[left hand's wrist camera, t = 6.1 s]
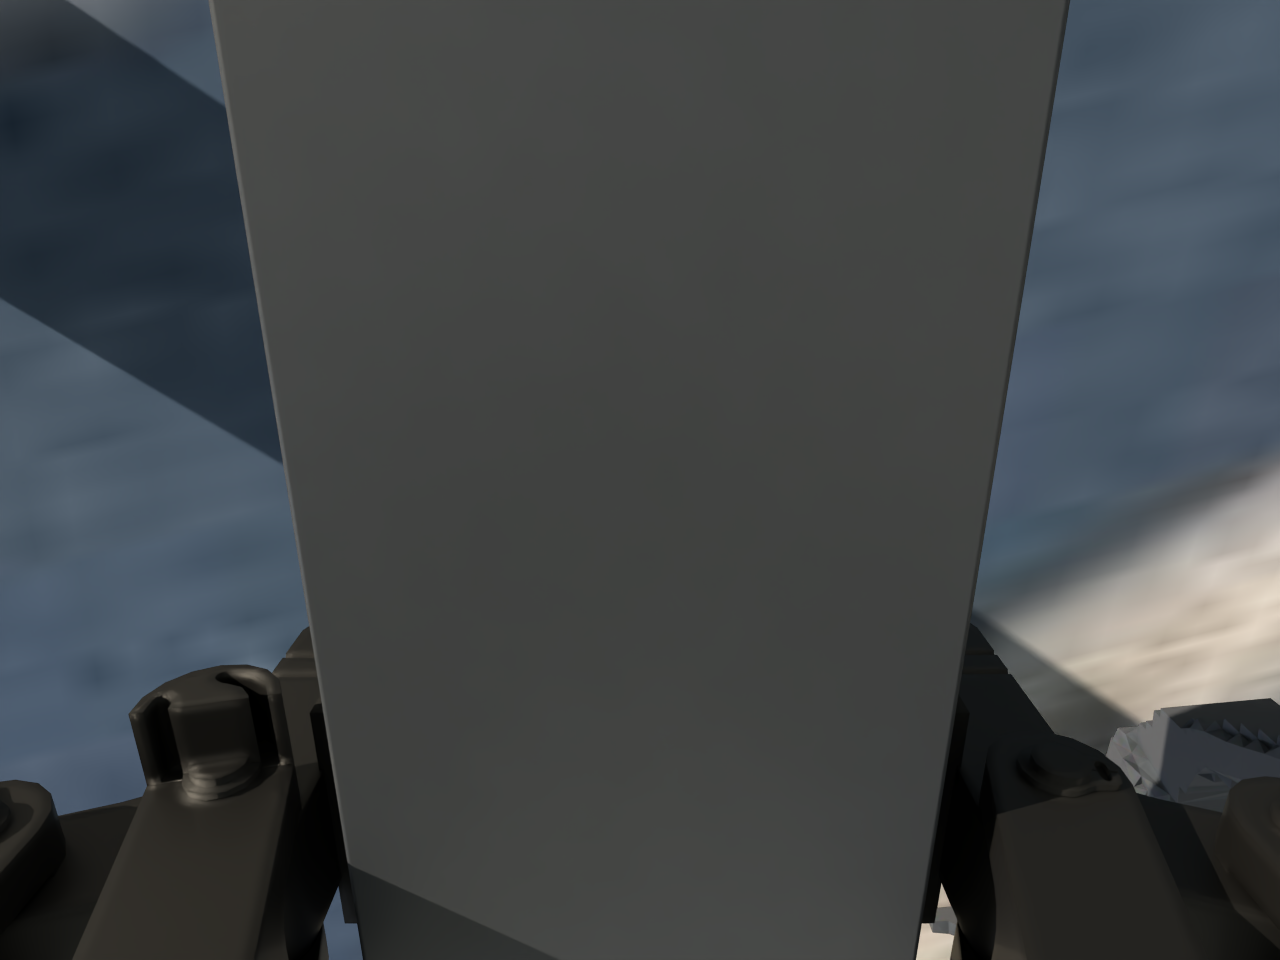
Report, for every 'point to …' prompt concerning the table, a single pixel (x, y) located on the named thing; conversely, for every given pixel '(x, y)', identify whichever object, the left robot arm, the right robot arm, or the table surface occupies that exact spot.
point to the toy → (1190, 757)
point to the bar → (639, 445)
